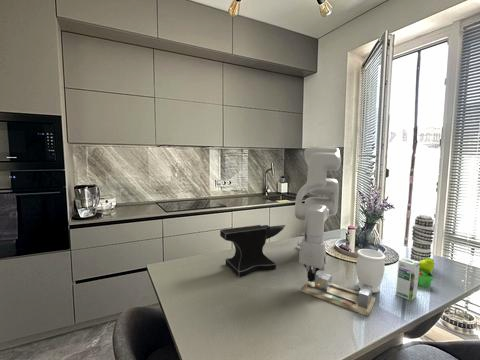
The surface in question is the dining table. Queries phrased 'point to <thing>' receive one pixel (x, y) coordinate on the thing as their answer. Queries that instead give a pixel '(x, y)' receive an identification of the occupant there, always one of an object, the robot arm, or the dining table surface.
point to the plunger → (323, 281)
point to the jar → (370, 268)
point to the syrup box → (407, 278)
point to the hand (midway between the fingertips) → (311, 280)
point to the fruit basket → (425, 272)
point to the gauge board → (339, 300)
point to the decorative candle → (422, 238)
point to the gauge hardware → (364, 294)
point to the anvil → (250, 248)
